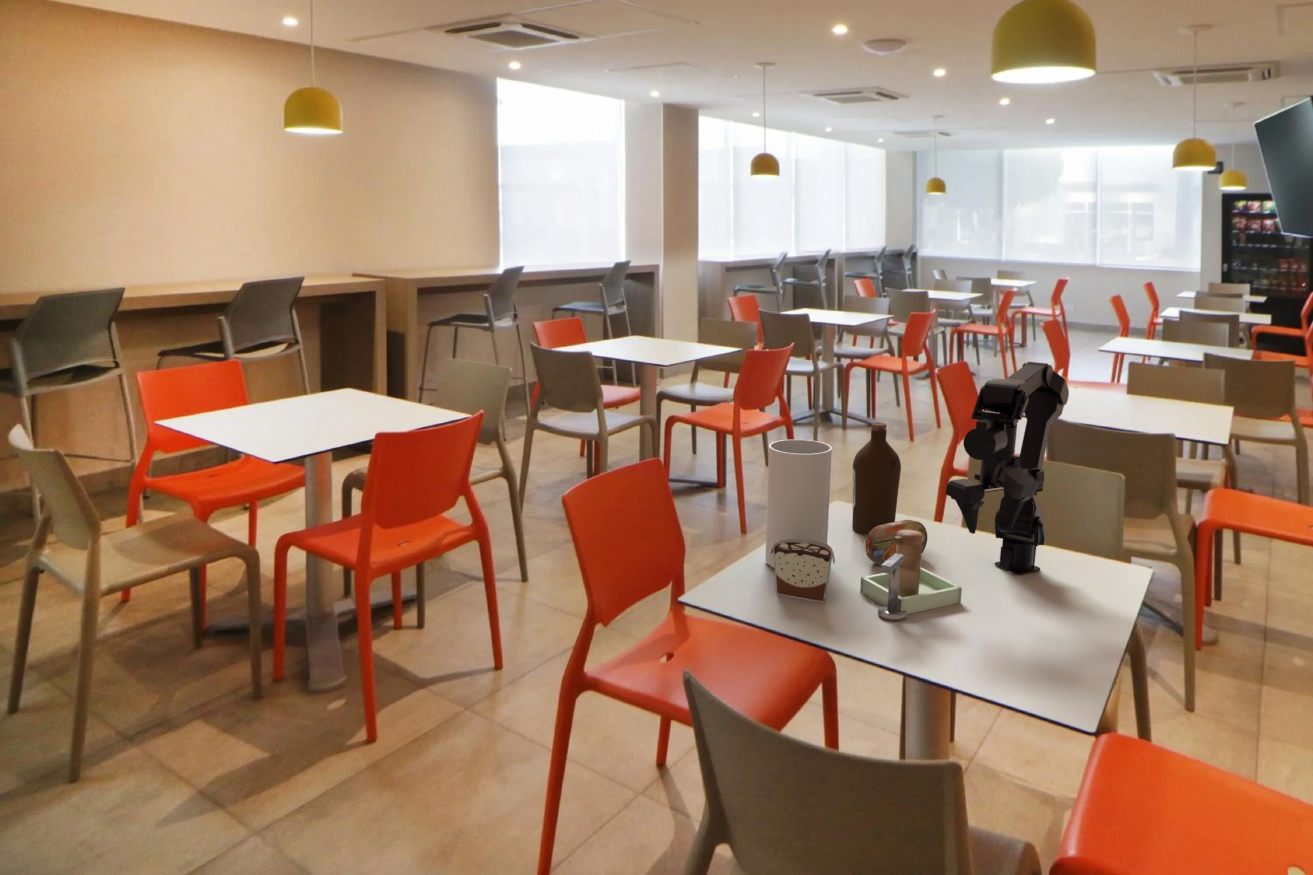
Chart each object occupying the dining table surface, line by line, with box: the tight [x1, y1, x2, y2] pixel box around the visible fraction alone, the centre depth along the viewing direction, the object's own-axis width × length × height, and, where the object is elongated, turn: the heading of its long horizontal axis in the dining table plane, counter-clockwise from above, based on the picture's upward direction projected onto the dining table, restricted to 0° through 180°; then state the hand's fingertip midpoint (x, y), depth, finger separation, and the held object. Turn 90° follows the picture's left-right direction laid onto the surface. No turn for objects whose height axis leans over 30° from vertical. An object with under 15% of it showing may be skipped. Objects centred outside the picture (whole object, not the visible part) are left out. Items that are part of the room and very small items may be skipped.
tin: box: [865, 519, 928, 566], centre depth 198 cm, size 15×3×8 cm, turn 117°
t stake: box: [877, 553, 908, 622], centre depth 169 cm, size 8×5×11 cm, turn 146°
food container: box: [770, 539, 836, 604], centre depth 180 cm, size 12×6×10 cm, turn 65°
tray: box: [859, 566, 963, 615], centre depth 179 cm, size 14×12×3 cm
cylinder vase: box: [765, 438, 833, 569], centre depth 194 cm, size 12×12×25 cm
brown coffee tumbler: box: [893, 530, 923, 597], centre depth 177 cm, size 6×5×12 cm
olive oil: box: [851, 422, 902, 536], centre depth 215 cm, size 11×11×25 cm
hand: (991, 529), depth 178 cm, fingers open, 9 cm apart
